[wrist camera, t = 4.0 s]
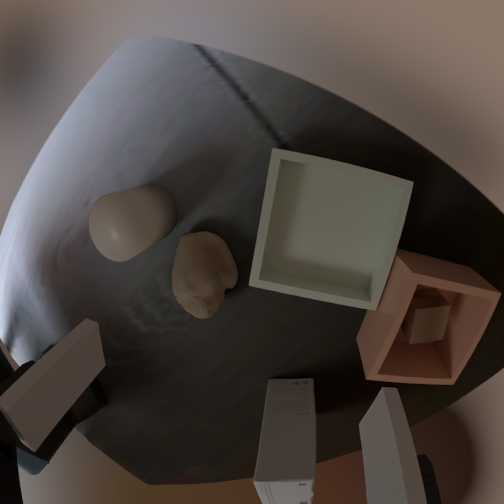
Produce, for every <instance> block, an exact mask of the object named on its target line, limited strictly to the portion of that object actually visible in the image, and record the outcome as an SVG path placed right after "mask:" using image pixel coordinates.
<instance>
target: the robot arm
mask: <svg viewBox="0 0 504 504" xmlns="http://www.w3.org/2000/svg"><path fill="white" fill-rule="evenodd" d="M104 367H105V360H104V354H103V349H102V343H101V337H100V331H99V324H98V323H97V322H95V321H92V320H90V319H87V318H86V319H85V320H84V321H82V322H81V323H80V324H79V325H78V326H77V327H75V328H74V329H73V330H72V331H71V332H70V333H68V334H67V335H66V336H65V337H64V338H63V339H62V340H60V341H59V342H58V343H57V344H56V345H55V346H50V347H48V348H47V349H46V350H45V351H43V352H42V353H41V355H40V356H39V359H38V361H37V362H34V361H33V360H31V361H29V362H27V363H24V364H22V365H21V366H20V367H19V368H18V369H17V370H16V371H14V369H13V368H12V366H11V364H10V363H9V361H8V359H7V358H6V356H5V355H4V353H3V351H2V349H1V347H0V504H23V500H22V494H21V488H20V481H19V474H18V466H19V467H20V468H21V469H23V470H24V471H26V472H28V473H29V474H32V475H36V474H38V473H40V472H41V471H42V469H43V468H44V467H45V466H46V465H47V464H49V463H50V462H49V461H50V460H51V458H52V456H53V455H54V454H55V453H56V451H57V450H58V449H59V447H60V446H61V444H62V443H63V442H64V440H65V439H66V438H67V436H68V435H69V433H70V432H71V431H72V429H73V428H74V427H75V426H76V425H77V424H79V423H81V422H82V421H84V420H86V419H87V418H89V417H91V416H92V415H94V414H96V413H97V412H98V411H99V410H100V409H101V407H102V406H103V405H104V402H105V397H104V393H103V390H102V388H101V386H100V385H99V383H98V381H97V380H96V378H95V377H96V376H97V375H98V374H99V373H100V371H101V370H102V369H103V368H104ZM359 428H360V435H361V443H362V451H363V460H364V469H365V479H366V491H367V504H442V503H441V499H440V494H439V490H438V485H437V484H436V482H437V481H436V477H435V476H434V474H435V473H434V470H433V466H432V463H431V462H430V460H429V459H428V458H427V456H426V455H416V452H415V448H414V444H413V440H412V437H411V433H410V430H409V426H408V422H407V419H406V416H405V412H404V409H403V406H402V403H401V399H400V396H399V393H398V390H397V388H387V387H382V389H381V390H380V392H379V394H378V395H377V397H376V399H375V400H374V402H373V404H372V405H371V407H370V408H369V410H368V412H367V413H366V415H365V416H364V418H363V419H362V421H361V422H360V424H359Z"/></svg>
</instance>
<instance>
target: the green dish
mask: <svg viewBox="0 0 504 504" xmlns="http://www.w3.org/2000/svg"><path fill="white" fill-rule="evenodd" d="M413 183H414V182H412V181H408V180H405V179H402V178H399V177H395V176H392V175H389V174H385V173H382V172H378V171H374V170H371V169H367V168H363V167H359V166H355V165H351V164H347V163H343V162H339V161H335V160H331V159H326V158H322V157H317V156H312V155H307V154H303V153H297V152H292V151H287V150H281V149H276V148H272V153H271V159H270V165H269V171H268V176H267V182H266V188H265V194H264V200H263V205H262V211H261V217H260V223H259V229H258V234H257V240H256V246H255V252H254V257H253V263H252V269H251V274H250V280H249V286H253V287H258V288H263V289H267V290H272V291H277V292H281V293H286V294H291V295H296V296H301V297H306V298H311V299H316V300H321V301H326V302H331V303H337V304H342V305H347V306H352V307H358V308H363V309H369V310H375V311H376V308H377V306H378V303H379V300H380V298H381V295H382V292H383V289H384V287H385V284H386V281H387V278H388V275H389V272H390V269H391V266H392V263H393V259H394V256H395V253H396V250H397V246H398V243H399V239H400V236H401V232H402V229H403V225H404V221H405V217H406V213H407V209H408V205H409V201H410V197H411V192H412V188H413Z"/></svg>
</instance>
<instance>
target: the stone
mask: <svg viewBox="0 0 504 504" xmlns="http://www.w3.org/2000/svg"><path fill="white" fill-rule="evenodd" d="M237 279H238V272H237V267H236V264H235V261H234V259H233V257H232V254H231V252H230V250H229V248H228V246H227V244H226V243H225V241H224V240H223V239H222V238H221V237H219V236H218V235H216V234H214V233H210V232H208V231H202V232H197V233H185V234H183V235H182V236H181V237H180V240H179V244H178V247H177V249H176V253H175V260H174V265H173V270H172V289H173V293H174V295H175V297H176V299H177V301H178V302H179V303H180V304H181V305H182V306H183V308H184V309H185V310H186V311H187V312H188V313H190V314H192V315H194V316H195V317H197V318H208V317H211V316H212V315H213V314H214V313H215V312H216V311H217V310H218V308H219V306H220V304H221V301H222V300H223V299H224V298H225V294H224V292H225V290H226V289H227V288H233V287H234V286H235V284H236V283H237Z"/></svg>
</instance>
